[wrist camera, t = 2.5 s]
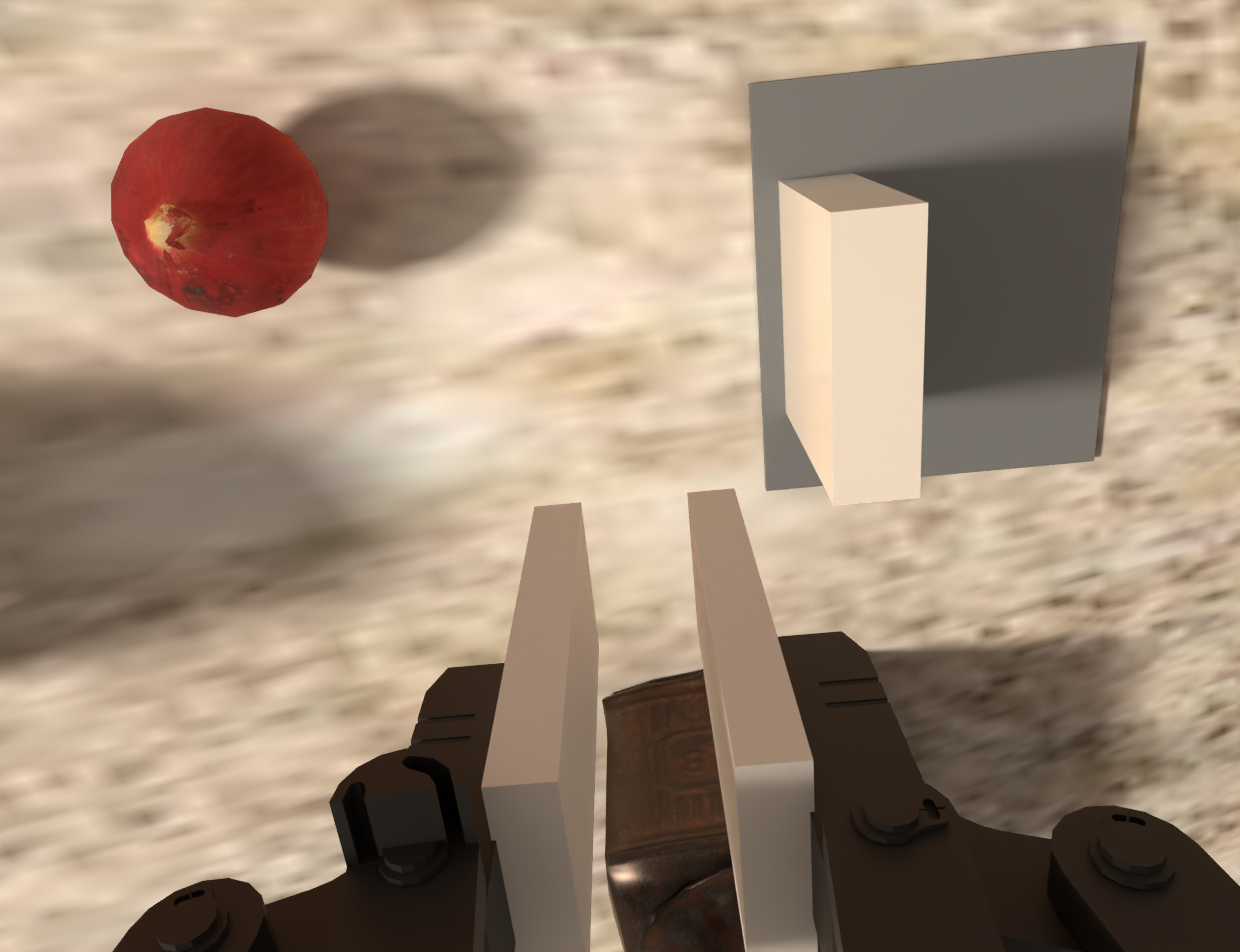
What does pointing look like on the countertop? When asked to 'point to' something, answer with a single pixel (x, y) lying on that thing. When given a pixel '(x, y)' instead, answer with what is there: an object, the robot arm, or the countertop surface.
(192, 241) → the onion
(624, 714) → the manual coffee grinder
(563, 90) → the countertop surface
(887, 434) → the tile
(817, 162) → the mat
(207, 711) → the countertop surface
